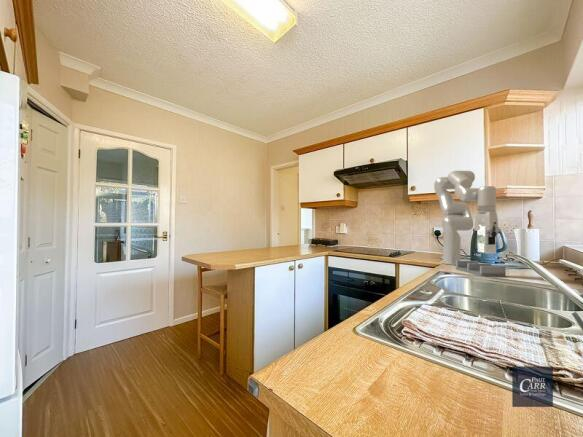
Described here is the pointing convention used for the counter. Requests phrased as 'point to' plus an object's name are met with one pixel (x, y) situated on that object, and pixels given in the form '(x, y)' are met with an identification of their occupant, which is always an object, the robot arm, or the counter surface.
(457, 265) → the slot rack
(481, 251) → the syrup box
